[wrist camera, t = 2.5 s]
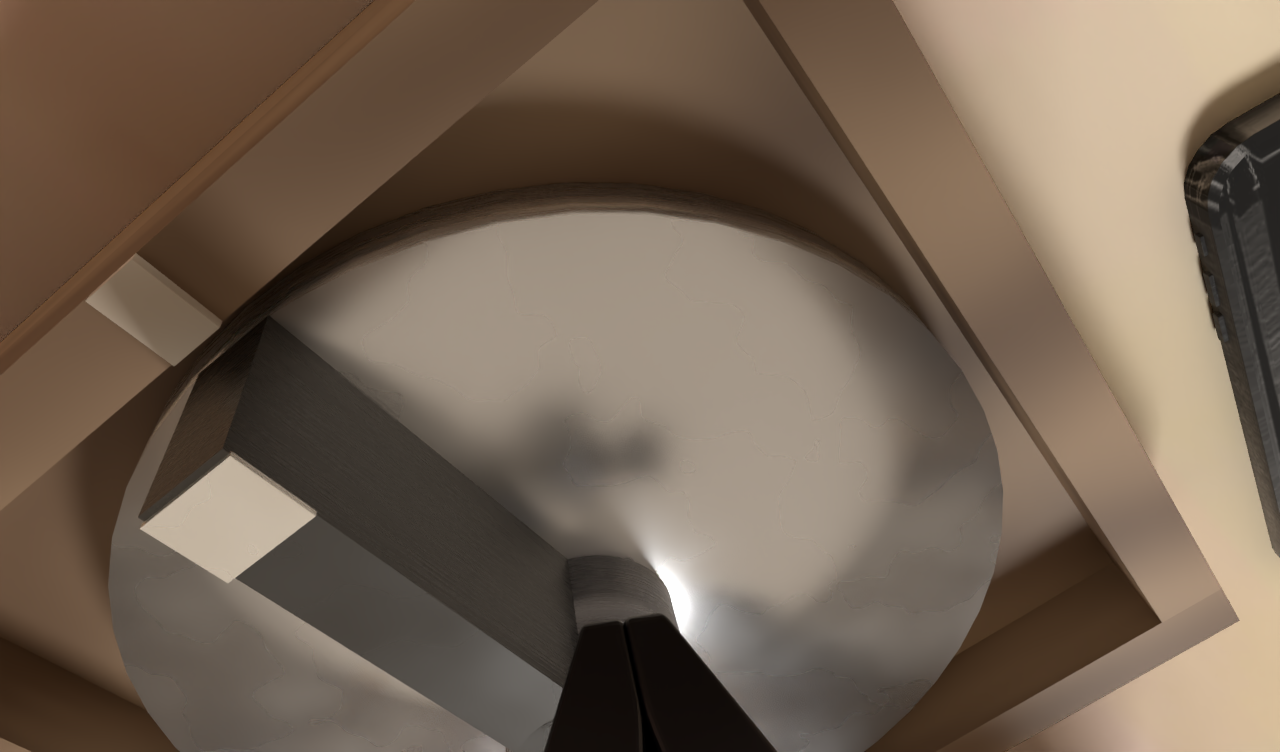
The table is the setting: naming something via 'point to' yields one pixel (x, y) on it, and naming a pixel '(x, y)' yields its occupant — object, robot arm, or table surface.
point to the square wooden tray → (603, 153)
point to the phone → (1245, 277)
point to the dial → (554, 482)
